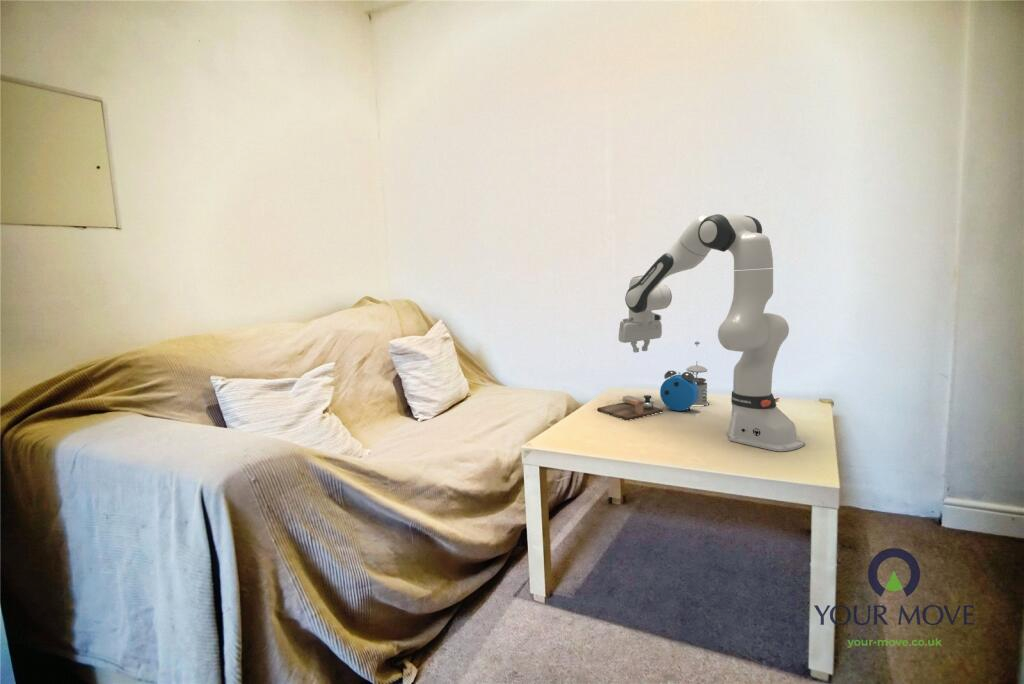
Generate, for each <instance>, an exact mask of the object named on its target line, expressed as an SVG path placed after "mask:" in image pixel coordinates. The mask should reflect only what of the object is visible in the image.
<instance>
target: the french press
mask: <svg viewBox="0 0 1024 684" xmlns="http://www.w3.org/2000/svg"><path fill="white" fill-rule="evenodd" d="M700 344H701V343H700V342H699V341H698V340H697V341H694V345H696V346H698V345H700ZM686 372H690V373H692V374H693V375H694V377H695V380H694V382H695V383H696V384H697V387H698V390H699V396H698V399H697V401H696V402H695V404H694V405H707V404H708V403H709V401H708V383H707V382H706V381H707V379H706V378H703V377H698V374H699V373H700V374H701V373H707V372H708V369H707V368H706V367H704V366H703V365H698V362H696V365H691V366H688V367H687V368H686ZM707 406H708V405H707Z"/></svg>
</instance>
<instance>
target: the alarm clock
mask: <svg viewBox="0 0 1024 684" xmlns="http://www.w3.org/2000/svg"><path fill="white" fill-rule="evenodd" d="M663 377H664V381H663V383H662V385H661V386H660V391H659V394H660V398H661V400H662V402H663V404H664V405H665V406H666V407H667V408H668V409H670V410H671V411H672V410H673V411H675V410H676V412H681V411H682V412H683V411H686V410H687V409H690V410H691V407H693V406H692V405H694V404H695V402H696V401H697V399H698V396H699V390H698V387H697V384H696V382H694V380H695V377H696V376H695V375H694V374H693V372H689V371H685V372H683V373H681V372H677V371H675V370H667V372H665V374H664V376H663Z"/></svg>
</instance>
